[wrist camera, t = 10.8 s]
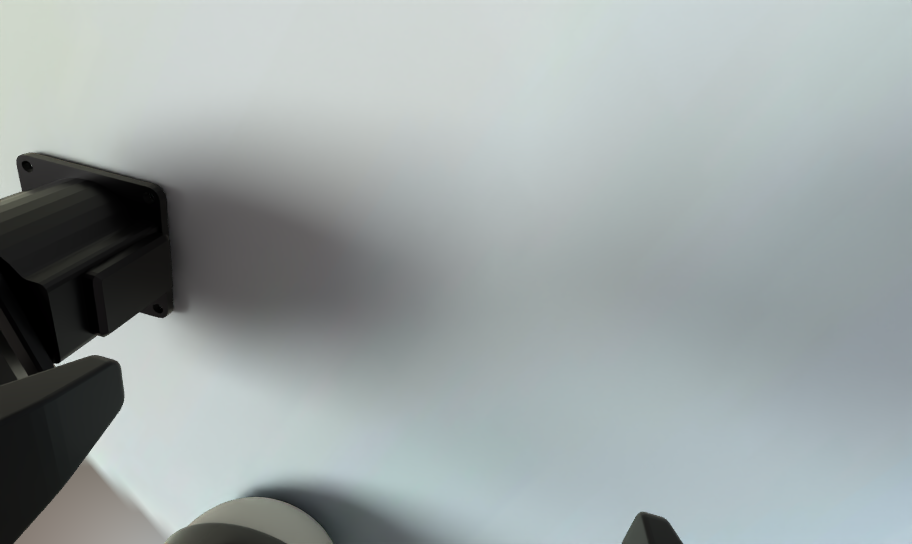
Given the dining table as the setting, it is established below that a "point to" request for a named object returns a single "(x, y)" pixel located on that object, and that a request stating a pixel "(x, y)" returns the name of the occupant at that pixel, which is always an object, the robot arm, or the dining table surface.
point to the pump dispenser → (252, 525)
